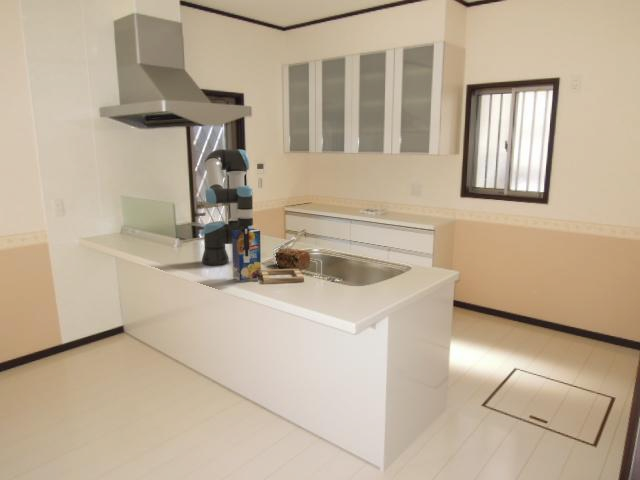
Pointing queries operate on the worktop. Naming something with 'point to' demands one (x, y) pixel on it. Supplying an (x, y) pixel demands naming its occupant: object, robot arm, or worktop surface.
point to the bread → (293, 258)
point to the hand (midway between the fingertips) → (246, 259)
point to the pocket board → (296, 272)
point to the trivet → (247, 280)
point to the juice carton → (254, 266)
